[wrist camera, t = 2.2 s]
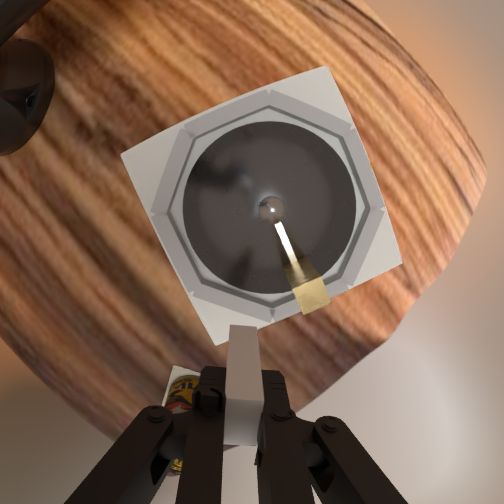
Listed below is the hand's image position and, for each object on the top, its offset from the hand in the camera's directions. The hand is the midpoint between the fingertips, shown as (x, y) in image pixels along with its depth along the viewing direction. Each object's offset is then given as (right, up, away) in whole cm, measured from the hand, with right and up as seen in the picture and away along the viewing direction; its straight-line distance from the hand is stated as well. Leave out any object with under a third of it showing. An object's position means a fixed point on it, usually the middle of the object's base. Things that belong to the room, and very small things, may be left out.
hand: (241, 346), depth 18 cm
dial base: (+2, +10, +14) cm, 18 cm away
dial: (+2, +9, +12) cm, 15 cm away
